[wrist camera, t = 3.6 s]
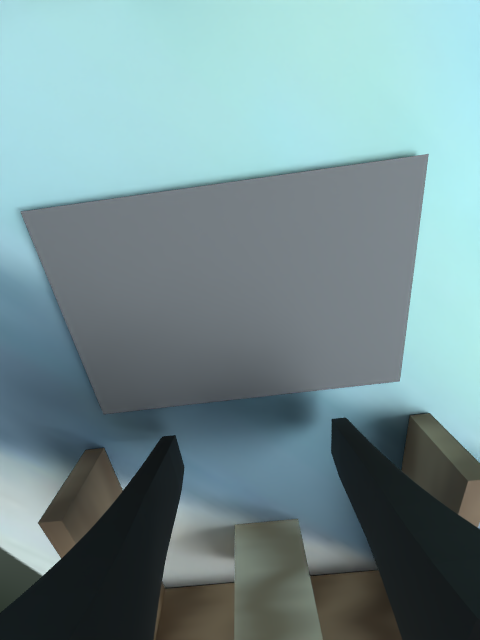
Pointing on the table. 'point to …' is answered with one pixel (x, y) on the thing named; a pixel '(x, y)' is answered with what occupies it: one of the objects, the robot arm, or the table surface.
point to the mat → (238, 284)
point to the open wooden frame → (329, 590)
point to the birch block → (273, 584)
